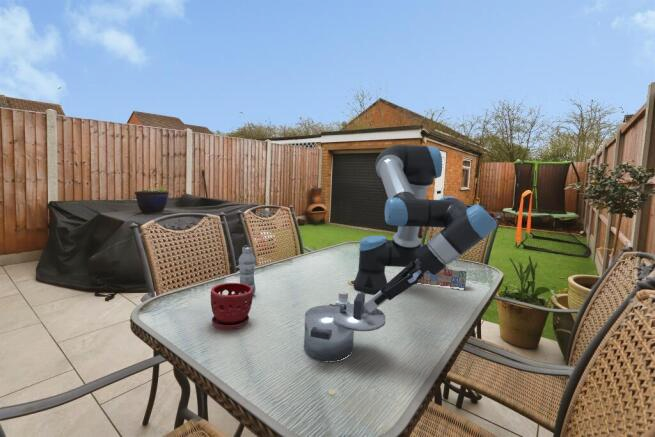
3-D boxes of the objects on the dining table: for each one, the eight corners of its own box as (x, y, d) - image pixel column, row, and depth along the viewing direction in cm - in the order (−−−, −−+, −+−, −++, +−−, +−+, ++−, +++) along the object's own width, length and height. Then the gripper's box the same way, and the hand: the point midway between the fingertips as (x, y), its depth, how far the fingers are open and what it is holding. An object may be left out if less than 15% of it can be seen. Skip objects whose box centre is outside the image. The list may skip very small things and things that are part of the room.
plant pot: (230, 337, 97) (230, 298, 95) (202, 325, 104) (201, 289, 102) (260, 321, 108) (261, 287, 106) (233, 311, 115) (233, 278, 113)
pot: (358, 337, 100) (360, 306, 98) (345, 371, 82) (346, 334, 80) (315, 329, 103) (316, 299, 102) (293, 361, 85) (294, 325, 84)
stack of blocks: (463, 286, 152) (466, 261, 150) (465, 291, 146) (467, 264, 144) (416, 280, 158) (418, 256, 157) (416, 284, 152) (418, 259, 151)
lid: (387, 312, 94) (389, 291, 93) (382, 335, 80) (383, 311, 79) (339, 305, 98) (340, 285, 97) (325, 325, 84) (326, 303, 83)
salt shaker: (341, 315, 115) (342, 289, 114) (350, 318, 113) (351, 292, 111) (334, 318, 112) (335, 292, 111) (343, 322, 110) (344, 295, 108)
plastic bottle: (251, 299, 126) (251, 249, 124) (235, 297, 127) (235, 247, 125) (258, 293, 132) (258, 245, 130) (242, 291, 134) (243, 244, 131)
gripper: (449, 272, 75) (373, 329, 81) (444, 259, 87) (378, 309, 94) (427, 248, 75) (353, 306, 82) (425, 238, 88) (361, 289, 94)
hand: (367, 308), depth 88 cm, fingers closed
